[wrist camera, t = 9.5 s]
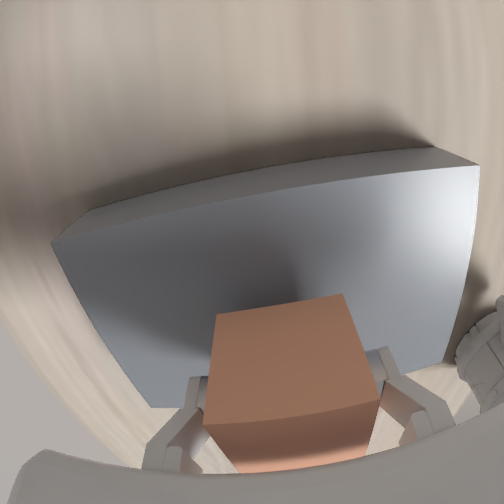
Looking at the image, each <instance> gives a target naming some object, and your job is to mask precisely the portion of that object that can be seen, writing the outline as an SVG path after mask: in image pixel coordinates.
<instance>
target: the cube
mask: <svg viewBox="0 0 504 504" xmlns="http://www.w3.org/2000/svg"><path fill="white" fill-rule="evenodd" d="M380 400H381V398H380V395H379V392H378V389H377V386H376V383H375V380H374V377H373V374H372V371H371V368H370V366H369V363H368V360H367V357H366V354H365V351H364V349H363V346H362V343H361V340H360V338H359V335H358V332H357V330H356V327H355V324H354V322H353V319H352V316H351V314H350V311H349V309H348V306H347V304H346V301H345V298H344V296H343V293H341V294H336V295H330V296H325V297H320V298H314V299H309V300H303V301H298V302H292V303H286V304H280V305H274V306H268V307H262V308H255V309H249V310H242V311H236V312H229V313H222V314H217V316H216V323H215V330H214V338H213V345H212V353H211V360H210V368H209V376H208V384H207V392H206V400H205V409H204V418H203V426H204V427H205V429H206V430H207V431H208V433H209V434H210V435H211V437H212V438H213V440H214V441H215V442H216V444H217V445H218V446H219V448H220V449H221V450H222V451H223V453H224V454H225V455H226V457H227V458H228V459H229V460H230V462H231V463H232V464H233V465H234V467H235V468H236V469H237V470H238V472H239V473H258V472H271V471H281V470H290V469H298V468H306V467H312V466H319V465H324V464H330V463H335V462H340V461H345V460H350V459H354V458H359V457H363V456H365V454H366V451H367V448H368V444H369V441H370V438H371V434H372V431H373V427H374V423H375V420H376V416H377V412H378V408H379V404H380Z"/></svg>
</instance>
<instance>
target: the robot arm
mask: <svg viewBox="0 0 504 504" xmlns="http://www.w3.org/2000/svg"><path fill="white" fill-rule="evenodd" d="M365 354H366V357H367V360H368V363H369V366H370V368H371V371H372V374H373V377H374V380H375V383H376V386H377V389H378V392H379V395H380V398H381V400H380V404H379V406H380V407H381V408H382V409H384V410H385V411H386V412H387V413H388V414H389V415H390V416H392V417H393V418H394V419H395V420H396V421H397V422H398V423H400V424H401V425H402V426H403V427H404V428H405V430H404V432H403V434H402V436H401V438H400V440H399V445H400V446H399V447H396V448H392V449H389V450H385V451H382V452H378V453H375V454H371V455H367V456H363V457H359V458H354V459H350V460H345V461H340V462H335V463H330V464H324V465H319V466H312V467H306V468H298V469H290V470H281V471H271V472H258V473H238V474H202V473H203V469H202V468H201V467H200V466H199V465H198V464H197V463H196V462H195V461H194V460H193V459H194V458H195V456H196V455H197V454H198V452H199V451H200V449H201V448H202V447H203V445H204V444H205V442H206V441H207V439H208V438H209V437H210V434H209V433H208V431H207V430H206V429H205V427H204V426H203V418H204V409H205V400H206V392H207V384H208V376H193V377H190V378H189V380H188V384H187V390H186V395H185V401H184V407H183V408H182V409H179V410H178V411H177V412H176V413H175V415H174V416H173V417H172V418H171V419H170V420H169V421H168V422H167V423H166V424H165V425H164V426H163V427H162V428H161V429H160V430H159V432H158V433H157V434H156V435H155V436H154V437H153V438H152V439H151V440H150V441H149V442H148V443H147V445H146V449H145V454H144V458H143V463H142V468H141V469H137V468H130V467H123V466H117V465H111V464H105V463H101V462H96V461H91V460H87V459H82V458H78V457H74V456H70V455H66V454H63V453H60V452H56V451H53V450H48V449H45V450H42V451H40V452H39V453H37V454H36V455H35V456H33V457H32V458H31V459H30V460H28V461H27V462H26V463H25V464H24V465H23V466H22V468H21V470H20V471H19V473H18V475H17V478H16V480H15V483H14V485H13V488H12V490H11V493H10V497H9V500H8V503H7V504H504V402H503V403H501V404H499V405H497V406H495V407H493V408H491V409H490V410H488V411H486V412H484V413H482V414H480V415H478V416H475V417H474V418H471V419H469V420H467V421H465V422H463V423H460V424H458V425H456V424H455V422H454V419H453V417H452V415H451V412H450V410H449V408H448V405H447V403H446V401H445V400H443V399H442V398H440V397H438V396H437V395H435V394H434V393H432V392H431V391H429V390H427V389H426V388H424V387H423V386H421V385H420V384H418V383H417V382H415V381H413V380H412V379H410V378H409V377H407V376H406V375H402V376H401V374H400V371H399V369H398V366H397V364H396V362H395V359H394V357H393V355H392V353H391V350H390V348H389V347H388V346H385V347H381V348H377V349H372V350H368V351H365Z"/></svg>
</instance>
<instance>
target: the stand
mask: <svg viewBox="0 0 504 504" xmlns="http://www.w3.org/2000/svg"><path fill="white" fill-rule="evenodd" d="M479 172H480V165H478V164H476V163H474V162H471V161H469V160H467V159H465V158H462V157H460V156H458V155H455V154H453V153H450V152H448V151H445V150H443V149H440V148H438V147H426V148H412V149H400V150H389V151H379V152H369V153H361V154H352V155H344V156H337V157H329V158H322V159H315V160H309V161H302V162H296V163H290V164H284V165H278V166H272V167H267V168H261V169H256V170H250V171H245V172H240V173H235V174H230V175H225V176H221V177H216V178H211V179H207V180H202V181H198V182H194V183H189V184H185V185H181V186H177V187H172V188H168V189H164V190H160V191H157V192H153V193H149V194H145V195H141V196H138V197H134V198H130V199H127V200H123V201H120V202H116V203H113V204H109V205H106V206H102V207H99V208H96V209H92V210H89V211H86V212H85V213H84V214H83V215H82V216H80V217H79V218H78V219H77V220H76V221H75V222H73V223H72V224H71V225H70V226H69V227H68V228H67V229H65V230H64V231H63V232H62V233H61V234H60V235H59V236H58V237H57V238H56V239H54V240H53V241H52V242H51V245H52V248H53V250H54V252H55V254H56V256H57V258H58V261H59V263H60V265H61V267H62V269H63V271H64V273H65V275H66V277H67V279H68V281H69V283H70V285H71V286H72V288H73V290H74V292H75V294H76V296H77V298H78V299H79V301H80V303H81V305H82V307H83V308H84V310H85V312H86V314H87V315H88V317H89V319H90V320H91V322H92V324H93V325H94V327H95V329H96V330H97V332H98V333H99V335H100V337H101V338H102V340H103V341H104V343H105V345H106V346H107V348H108V349H109V351H110V352H111V354H112V355H113V357H114V358H115V360H116V361H117V363H118V364H119V365H120V367H121V368H122V370H123V371H124V373H125V374H126V375H127V377H128V378H129V379H130V381H131V382H132V384H133V385H134V386H135V388H136V389H137V390H138V392H139V393H140V394H141V395H142V397H143V398H144V399H145V401H146V402H147V403H148V404H149V406H150V407H151V408H183V407H184V401H185V395H186V390H187V384H188V380H189V378H190V377H193V376H209V368H210V360H211V353H212V345H213V338H214V330H215V323H216V316H217V314H222V313H229V312H236V311H242V310H249V309H255V308H262V307H268V306H274V305H280V304H286V303H292V302H298V301H303V300H309V299H314V298H320V297H325V296H330V295H336V294H341V293H343V296H344V298H345V301H346V304H347V306H348V309H349V311H350V314H351V316H352V319H353V322H354V324H355V327H356V330H357V332H358V335H359V338H360V340H361V343H362V346H363V349H364V351H368V350H372V349H377V348H381V347H385V346H388V347H389V348H390V350H391V353H392V355H393V357H394V359H395V362H396V364H397V366H398V369H399V371H400V374H401V375H403V374H406V373H409V372H413V371H416V370H419V369H422V368H425V367H428V366H431V365H434V364H437V363H440V362H442V360H443V357H444V354H445V351H446V348H447V345H448V342H449V339H450V336H451V333H452V330H453V326H454V323H455V320H456V316H457V313H458V309H459V305H460V301H461V297H462V293H463V289H464V285H465V280H466V276H467V271H468V266H469V260H470V255H471V249H472V243H473V236H474V229H475V222H476V213H477V203H478V190H479Z"/></svg>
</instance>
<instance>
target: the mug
mask: <svg viewBox="0 0 504 504" xmlns="http://www.w3.org/2000/svg"><path fill="white" fill-rule="evenodd" d="M496 308H497V311H496V312H493V313H490V314H488V315H487V316H485V317H484V318H482V319H481V320H480V321H478V322H477V323H476V326H473V327H472V328H471V329H470V331H469V333H468V334H465V336H464V337H463V338H462V340H461V341H460V343H459V345H458V347H457V349H456V352H455V354H456V356H455V362H456V364H457V372H458V374H459V377H460V379H461V380H463V381H465V382H467V383H468V385H469V386H470V388H471V389H472V391H473V393H474V394H475V396H476V398H477V400H478V402H479V404H480V414H482V413H484V412H486V411H488V410H490V409H491V408H493V407H495V406H497V405H499V404H501V403H503V402H504V296H503V295H501V296H500V297H499V298H498V299H497V300H496Z"/></svg>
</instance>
